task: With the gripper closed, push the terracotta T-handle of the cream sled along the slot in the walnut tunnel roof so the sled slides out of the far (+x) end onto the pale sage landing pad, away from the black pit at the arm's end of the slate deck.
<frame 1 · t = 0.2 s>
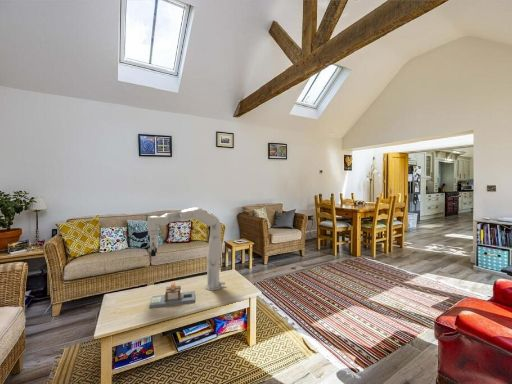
hand: (154, 254, 186), 31 cm above the table, fingers open, 9 cm apart
tunnel: (173, 293, 177), on the deck, point 5 cm above the table
deck: (173, 300, 177), on the table
sled: (173, 290, 177), point 7 cm above the table, slide at 0.0 cm
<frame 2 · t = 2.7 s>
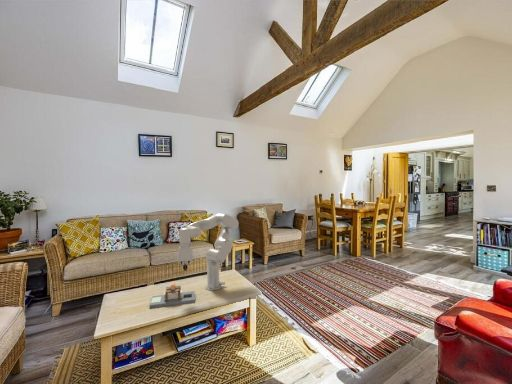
hand: (185, 270, 178), 22 cm above the table, fingers closed
nothing on the table moved.
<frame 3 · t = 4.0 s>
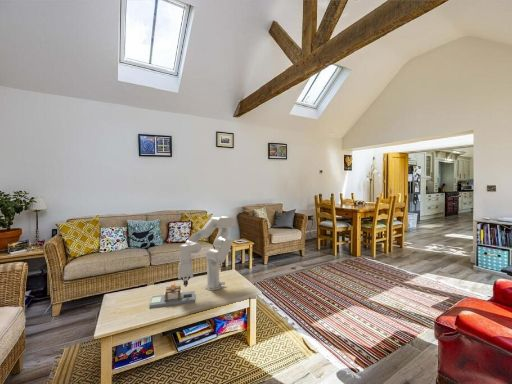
hand: (185, 285, 179), 10 cm above the table, fingers closed
nothing on the table moved.
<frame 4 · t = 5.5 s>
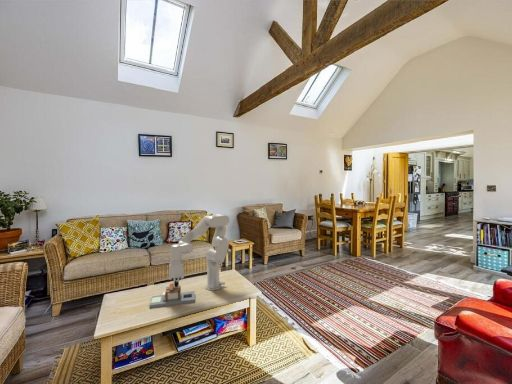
hand: (176, 286, 177), 10 cm above the table, fingers closed
sled: (171, 290, 176), point 7 cm above the table, slide at 1.1 cm, touching gripper
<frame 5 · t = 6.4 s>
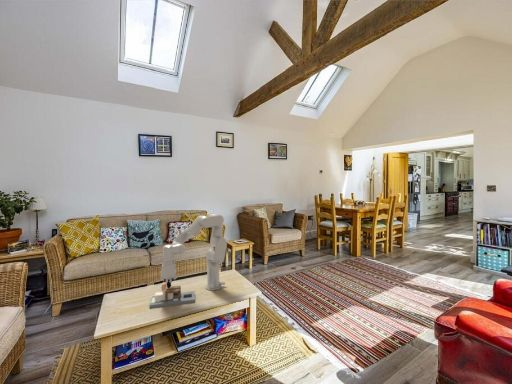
hand: (168, 287, 176), 10 cm above the table, fingers closed
sled: (164, 291, 175), point 7 cm above the table, slide at 6.2 cm, touching gripper
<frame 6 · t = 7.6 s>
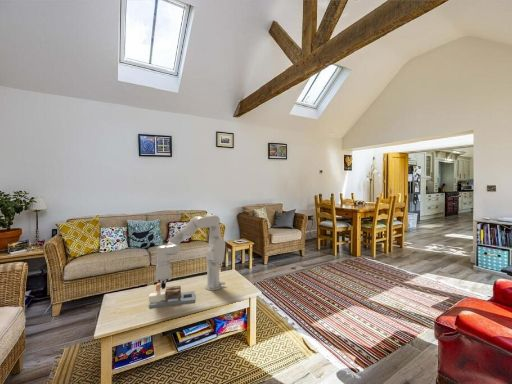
hand: (163, 288, 175), 10 cm above the table, fingers closed
sled: (158, 292, 174), point 7 cm above the table, slide at 9.9 cm, touching gripper
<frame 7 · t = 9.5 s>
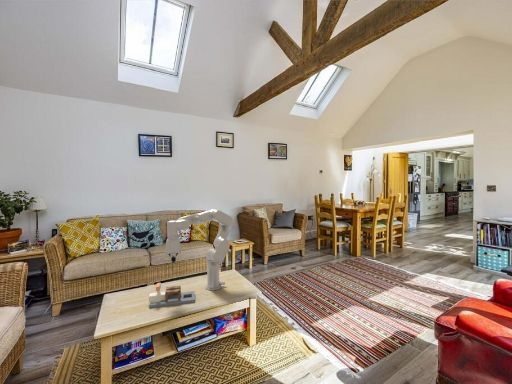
hand: (173, 262, 179), 27 cm above the table, fingers closed
sled: (158, 292, 174), point 7 cm above the table, slide at 10.0 cm
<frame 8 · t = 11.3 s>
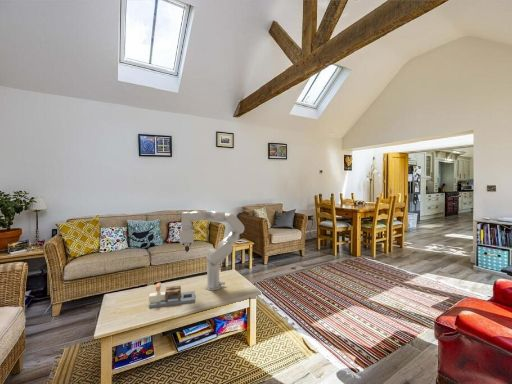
hand: (187, 251, 189), 32 cm above the table, fingers closed
nothing on the table moved.
at the end: sled slide at 10.0 cm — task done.
